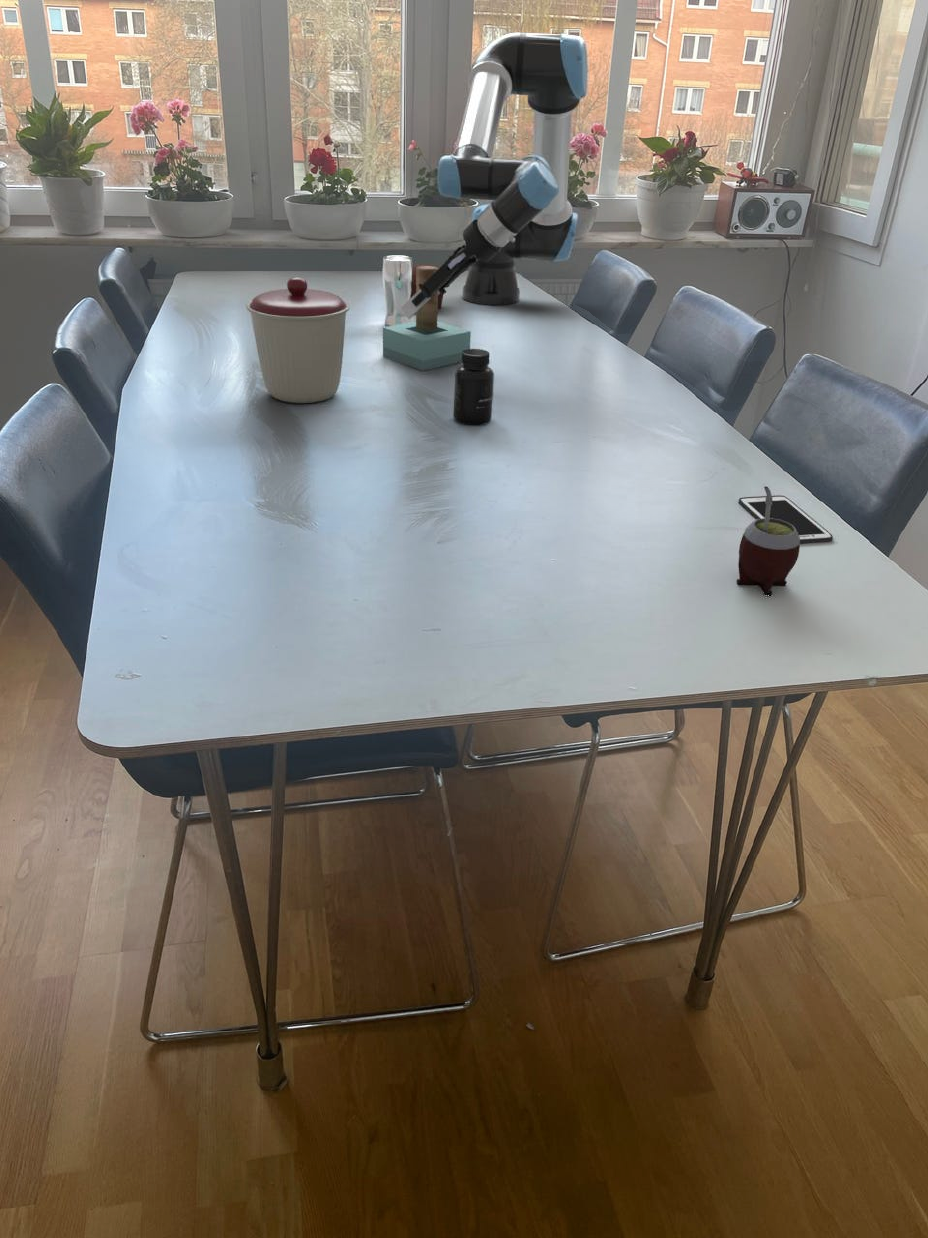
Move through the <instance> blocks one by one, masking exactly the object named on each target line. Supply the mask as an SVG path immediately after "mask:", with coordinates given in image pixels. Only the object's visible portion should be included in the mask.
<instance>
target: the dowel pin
mask: <svg viewBox="0 0 928 1238" xmlns="http://www.w3.org/2000/svg"><path fill="white" fill-rule="evenodd" d="M432 266H433V265H431V266H420V267H417V268H416V292H417V291H418V290H419V289H420V287H419V286H418V285H419V284H422V285H423V284H424V283H425V282H426V281H427V280H428V279H429V278H430V277H431V276H432V275H433V274H434V273H435V272H436V271H437V270H438V269H439V268H438V267H436V266H434V267H432ZM437 308H438V290H437V291H436V292H435V293H434V294H433V295H432V297H431V299H430V300H429V301H427V302H426V303H425V304H424V305H423V306H422V307H421V308H420V309H419V310H418V311H417V312H416V313H415V321H416V329H417V330H420V331H435V330H437V321H438V310H437Z"/></svg>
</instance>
